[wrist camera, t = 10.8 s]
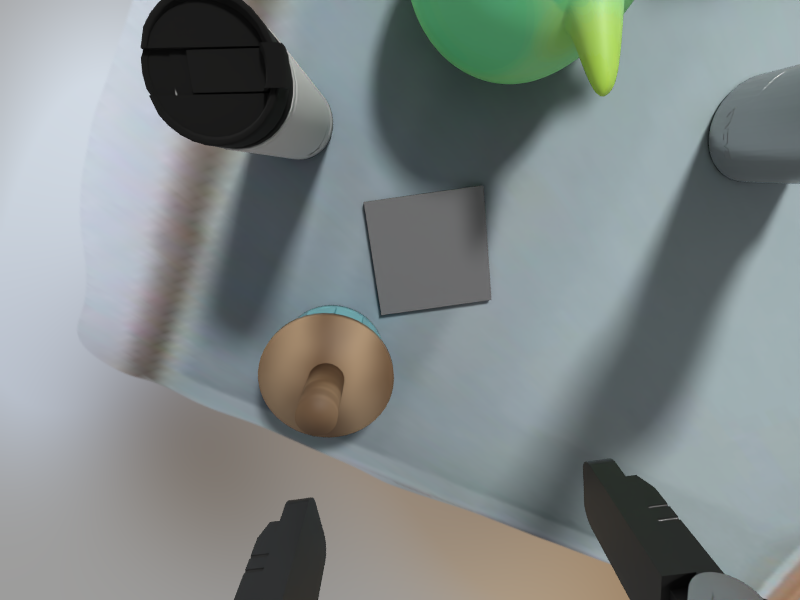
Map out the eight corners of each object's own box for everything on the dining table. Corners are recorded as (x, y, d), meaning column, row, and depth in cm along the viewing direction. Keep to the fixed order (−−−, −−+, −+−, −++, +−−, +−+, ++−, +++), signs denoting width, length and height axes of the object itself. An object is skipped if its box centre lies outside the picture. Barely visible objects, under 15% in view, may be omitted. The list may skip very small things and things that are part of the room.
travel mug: (339, 158, 37) (293, 145, 18) (265, 160, 37) (139, 147, 18) (335, 81, 35) (278, -25, 16) (256, 82, 35) (107, -24, 16)
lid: (383, 304, 36) (383, 333, 30) (401, 422, 40) (405, 472, 33) (246, 323, 36) (216, 356, 30) (276, 440, 40) (256, 492, 33)
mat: (481, 185, 38) (483, 185, 38) (489, 298, 42) (491, 299, 41) (364, 201, 38) (363, 202, 38) (381, 313, 42) (381, 315, 41)
